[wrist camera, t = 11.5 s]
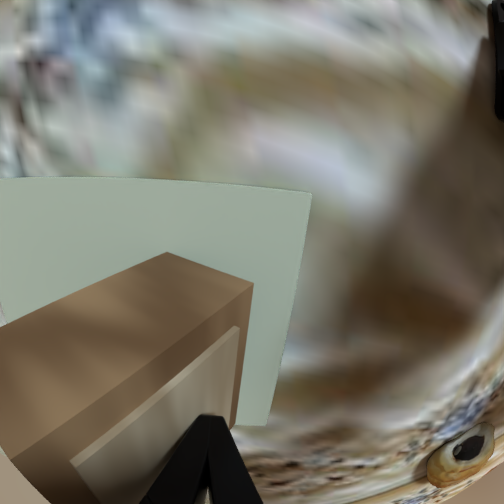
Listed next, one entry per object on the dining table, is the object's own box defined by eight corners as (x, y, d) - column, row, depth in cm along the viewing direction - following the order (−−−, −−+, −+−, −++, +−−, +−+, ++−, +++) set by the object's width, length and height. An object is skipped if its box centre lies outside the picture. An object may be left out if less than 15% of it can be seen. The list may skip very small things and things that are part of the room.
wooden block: (260, 284, 9) (15, 468, 3) (239, 425, 12) (116, 556, 5) (166, 251, 11) (-48, 351, 4) (171, 388, 13) (46, 489, 7)
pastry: (471, 456, 21) (483, 481, 18) (417, 483, 22) (426, 510, 19) (490, 412, 18) (509, 442, 14) (426, 447, 19) (441, 481, 15)
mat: (309, 192, 11) (312, 195, 10) (265, 420, 15) (266, 426, 15) (-16, 178, 10) (-21, 181, 9) (33, 381, 14) (31, 385, 14)
